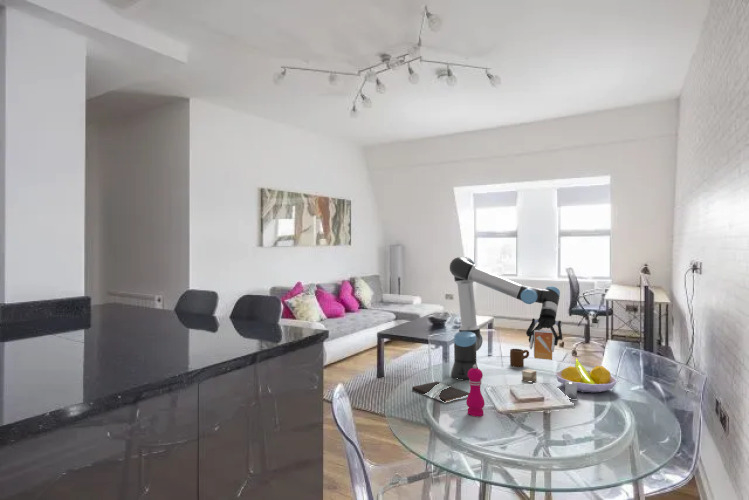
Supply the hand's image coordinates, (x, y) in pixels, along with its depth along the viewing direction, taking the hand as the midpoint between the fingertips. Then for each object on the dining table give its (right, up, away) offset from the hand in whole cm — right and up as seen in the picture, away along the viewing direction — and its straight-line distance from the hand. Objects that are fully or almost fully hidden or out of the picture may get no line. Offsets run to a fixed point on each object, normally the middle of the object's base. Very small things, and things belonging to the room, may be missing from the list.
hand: (541, 348), depth 200 cm
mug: (+7, -22, +48) cm, 53 cm away
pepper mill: (-39, -20, -30) cm, 53 cm away
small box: (+2, -5, +2) cm, 6 cm away
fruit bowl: (+23, -20, +4) cm, 31 cm away
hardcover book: (-49, -21, -4) cm, 53 cm away
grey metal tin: (+9, -20, -12) cm, 25 cm away
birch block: (+1, -21, +17) cm, 27 cm away
